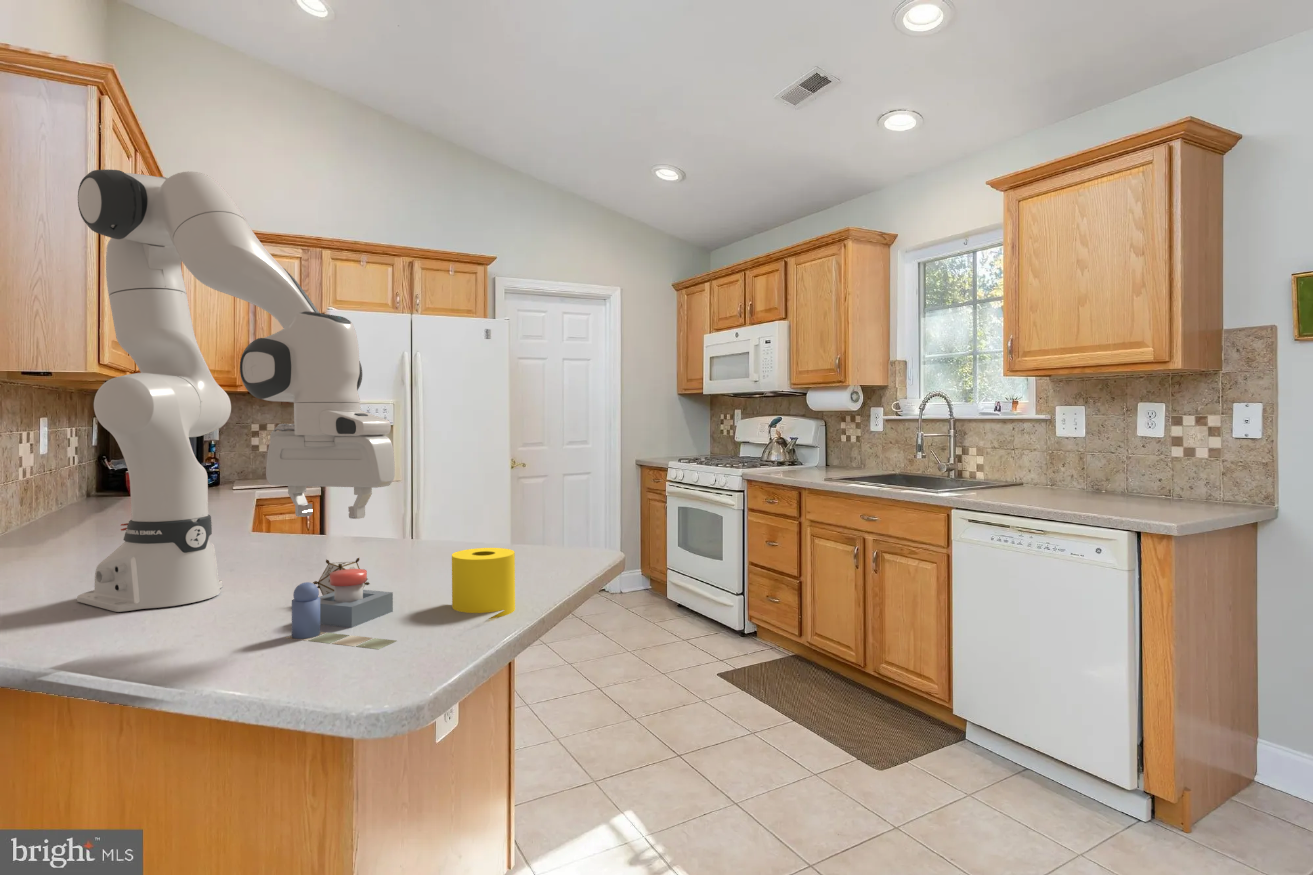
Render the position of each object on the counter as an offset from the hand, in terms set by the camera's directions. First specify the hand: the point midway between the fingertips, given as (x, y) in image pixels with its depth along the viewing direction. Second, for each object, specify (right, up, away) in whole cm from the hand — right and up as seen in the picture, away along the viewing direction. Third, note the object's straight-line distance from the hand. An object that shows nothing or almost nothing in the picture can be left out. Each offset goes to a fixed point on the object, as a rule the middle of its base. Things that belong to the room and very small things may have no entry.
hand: (330, 517), depth 103 cm
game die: (-5, -17, +14) cm, 23 cm away
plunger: (+1, -16, +5) cm, 17 cm away
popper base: (+1, -17, +5) cm, 18 cm away
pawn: (-1, -16, -4) cm, 17 cm away
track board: (+4, -17, -6) cm, 19 cm away
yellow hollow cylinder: (+20, -17, +12) cm, 28 cm away
